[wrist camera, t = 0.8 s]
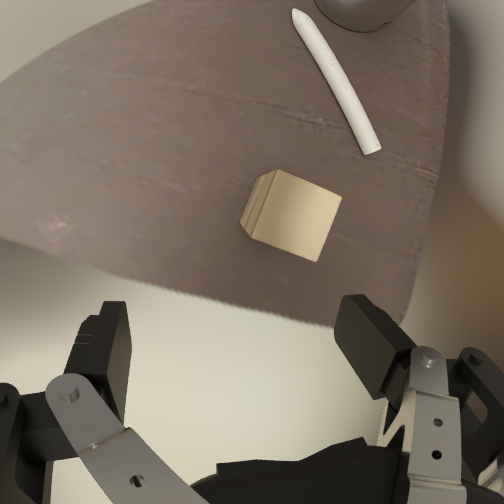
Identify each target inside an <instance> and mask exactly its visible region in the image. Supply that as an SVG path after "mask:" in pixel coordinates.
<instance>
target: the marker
mask: <svg viewBox="0 0 504 504" xmlns="http://www.w3.org/2000/svg"><path fill="white" fill-rule="evenodd" d="M292 20H293V24H294V26H295V28H296V30H297V31H298V33H299V32H300V33H299V35H300V36H301V38H302V39H303V41H304V42H305V44H306V46H307V47H308V49H309V51H310V52H311V54H312V56H313V57H314V59H315V61H316V62H317V64H318V66H319V68H320V69H321V71H322V73H323V75H324V76H325V78H326V80H327V82H328V84H329V85H330V87H331V89H332V91H333V93H334V95H335V97H336V99H337V100H338V102H339V104H340V106H341V108H342V110H343V112H344V114H345V116H346V118H347V120H348V122H349V124H350V126H351V128H352V130H353V133H354V135H355V137H356V139H357V141H358V143H359V145H360V148H361V150H362V152H363V153H364V155H365V154H370V153H373V152H375V151H378V150H380V149H381V146H380V143H379V141H378V139H377V136H376V134H375V132H374V130H373V128H372V126H371V123H370V121H369V119H368V117H367V115H366V113H365V111H364V109H363V107H362V105H361V103H360V101H359V99H358V97H357V95H356V93H355V91H354V89H353V88H352V86H351V84H350V82H349V80H348V78H347V77H346V75H345V73H344V71H343V69H342V68H341V66H340V64H339V62H338V61H337V59H336V57H335V56H334V54H333V52H332V50H331V49H330V47H329V46H328V44H327V42H326V41H325V39H324V38H323V36H322V34H321V33H320V31H319V30H318V28H317V27H316V25H315V24H314V22H313V21H312V19H311V18H310V17H309V16H308V15H306V14H305V13H303V12H301V11H299V10H298V9H294V8H293V10H292Z"/></svg>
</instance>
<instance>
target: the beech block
mask: <svg viewBox="0 0 504 504" xmlns="http://www.w3.org/2000/svg"><path fill="white" fill-rule="evenodd" d="M341 199H342V197H341V196H339V195H336V194H334V193H332V192H330V191H328V190H325V189H323V188H321V187H319V186H317V185H314V184H312V183H310V182H307V181H305V180H303V179H301V178H298V177H296V176H294V175H291V174H289V173H286V172H284V171H282V170H279V169H277V170H274V171H272V172H269V173H267V174H265V175H262V176H260V177H258V178H256V180H255V183H254V185H253V188H252V190H251V193H250V196H249V198H248V201H247V203H246V206H245V208H244V211H243V214H242V216H241V219H240V221H239V223H240V224H241V225H242V226H243V228H244V229H245V230H246V232H247V233H248V234H249V236H250V237H251V238H253V239H256V240H258V241H261V242H264V243H267V244H269V245H272V246H275V247H277V248H280V249H283V250H285V251H288V252H291V253H293V254H296V255H298V256H301V257H304V258H306V259H309V260H312V261H314V262H317V260H318V257H319V255H320V252H321V250H322V247H323V245H324V243H325V240H326V237H327V235H328V232H329V230H330V227H331V225H332V222H333V220H334V217H335V214H336V212H337V209H338V207H339V204H340V201H341Z"/></svg>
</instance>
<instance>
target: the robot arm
mask: <svg viewBox="0 0 504 504" xmlns="http://www.w3.org/2000/svg"><path fill="white" fill-rule="evenodd" d="M415 1H416V0H315V2H316V4H317V6H318V7H319V9H320V10H321V11H322V12H323V13H324V14H325V15H326V16H327V17H328V18H329V19H330V20H332V21H333V22H335V23H336V24H338V25H340V26H342V27H344V28H347V29H350V30H353V31H358V32H370V31H374V30H376V29H378V28H379V27H380V26H381V25H383V24H384V23H390V22H391V21H393V20H394V19H395V18H396V17H397V16H398V15H400V14H401V13H402V12H403V11H404V10H405V9H407V8H408V7H409V6H410V5H411V4H413V3H414V2H415ZM334 338H335V341H336V343H337V345H338V346H339V348H340V349H341V351H342V352H343V354H344V355H345V357H346V359H347V360H348V362H349V363H350V365H351V366H352V368H353V369H354V371H355V372H356V374H357V375H358V377H359V378H360V380H361V382H362V383H363V385H364V386H365V388H366V389H367V391H368V392H369V394H370V395H371V397H372V399H373V400H376V399H380V398H384V397H386V398H387V402H386V404H385V406H384V411H383V417H382V422H381V427H380V432H379V437H378V441H377V444H376V446H370V445H369V446H368V445H367V443H366V442H365V440H364V438H363V437H360V438H357V439H353V440H350V441H346V442H342V443H338V444H334V445H331V446H329V447H327V448H325V449H323V450H321V451H319V452H317V453H315V454H313V455H311V456H309V457H307V458H304V459H302V460H300V461H274V460H257V459H256V460H248V461H239V462H230V463H218V464H216V467H217V469H216V470H217V473H216V474H213V475H210V476H207V477H205V478H203V479H200V480H199V481H197V482H195V483H193V484H192V485H190V486H189V485H188V484H186V483H185V482H184V481H183V480H182V479H181V478H180V477H179V476H178V475H177V474H176V473H175V472H174V471H173V470H171V469H170V467H169V466H168V465H166V464H165V463H164V461H163V460H161V458H160V457H159V456H158V455H157V454H156V453H155V452H154V451H153V450H152V449H151V448H150V447H149V446H148V445H147V444H146V443H145V442H144V440H143V439H142V438H141V437H140V436H139V435H138V434H137V433H136V432H135V431H134V430H133V429H132V428H130V427H128V428H125V427H124V426H123V425H124V413H125V403H126V393H127V385H128V376H129V368H130V360H131V353H132V346H131V345H132V344H131V335H130V328H129V321H128V314H127V307H126V303H125V301H104V302H103V305H102V308H101V311H100V313H99V315H90V316H89V317H88V318H87V319H86V320H85V321H84V322H83V323H81V326H80V328H79V331H78V336H77V337H76V339H75V344H73V347H72V350H71V353H70V356H69V358H68V361H67V364H66V367H65V370H64V373H63V375H60V376H58V377H56V378H54V379H53V380H52V381H51V382H50V383H49V384H48V386H47V388H46V391H44V392H40V393H33V394H26V395H20V394H19V392H18V390H17V389H16V388H15V387H14V386H13V385H11V384H9V383H0V504H50V497H51V483H52V472H53V463H54V461H56V460H63V459H68V458H75V457H80V459H81V460H82V462H83V463H84V465H85V466H86V468H87V469H88V471H89V472H90V473H91V475H92V476H93V478H94V479H95V480H96V482H97V483H98V485H99V486H100V487H101V489H102V490H103V491H104V493H105V494H106V495H107V496H108V498H109V499H110V500H111V501H112V503H113V504H504V373H503V372H502V371H501V370H500V369H499V368H498V367H497V366H496V365H495V364H494V363H493V362H492V361H491V359H490V358H489V357H488V356H487V355H486V354H484V353H483V352H482V351H480V350H478V349H476V348H472V347H467V348H464V349H463V350H462V351H461V353H460V355H459V357H458V359H445V358H444V356H443V355H442V354H441V353H440V352H439V351H437V350H436V349H434V348H431V347H428V346H417V345H416V344H415V343H414V342H413V341H412V340H411V339H410V338H409V336H408V335H407V334H406V333H405V332H404V331H403V330H402V329H401V328H400V327H398V325H397V324H396V323H395V321H392V318H391V317H390V316H389V315H388V314H387V313H386V312H385V311H383V310H382V309H380V308H378V307H377V306H375V305H374V304H373V303H372V302H371V301H370V300H369V299H368V298H367V297H366V296H365V295H364V294H354V295H345V296H344V297H343V298H342V301H341V305H340V308H339V312H338V316H337V320H336V324H335V327H334ZM474 392H475V393H476V395H477V396H478V397H479V398H480V400H482V402H483V403H484V404H485V405H486V407H487V411H488V416H487V418H486V420H485V421H484V423H483V424H482V423H481V422H480V421H479V419H478V418H477V416H476V415H475V414H474V413H473V411H472V410H471V409H470V407H469V406H468V404H467V402H468V401H469V399H470V398H471V396H472V395H473V393H474ZM461 456H462V457H463V459H464V461H465V462H466V464H467V466H468V467H469V469H470V470H471V472H472V474H473V475H474V477H475V479H476V480H477V482H478V484H479V485H477V484H474V483H472V482H469V481H466V480H464V479H461Z"/></svg>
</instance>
